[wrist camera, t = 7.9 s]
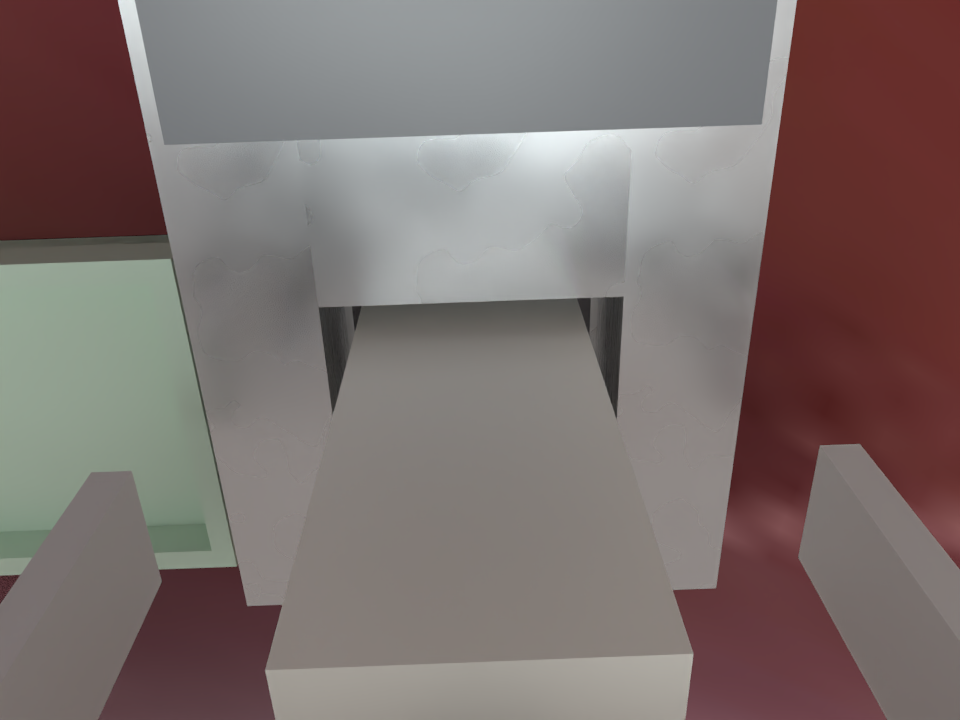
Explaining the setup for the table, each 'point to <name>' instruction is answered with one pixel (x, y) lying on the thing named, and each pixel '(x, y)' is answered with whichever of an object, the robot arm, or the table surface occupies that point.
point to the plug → (477, 534)
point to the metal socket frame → (471, 289)
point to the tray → (103, 396)
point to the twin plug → (451, 66)
